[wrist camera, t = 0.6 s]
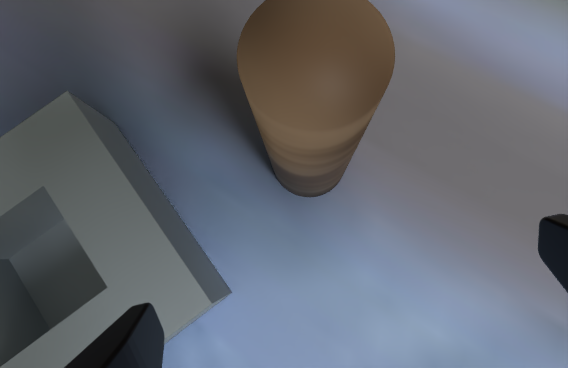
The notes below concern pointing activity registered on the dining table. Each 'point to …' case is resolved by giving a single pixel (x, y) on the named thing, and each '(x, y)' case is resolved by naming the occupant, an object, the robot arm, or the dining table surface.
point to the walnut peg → (314, 84)
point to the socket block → (87, 239)
